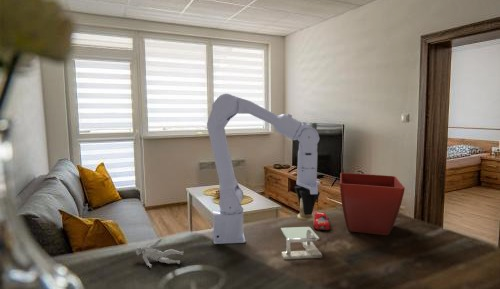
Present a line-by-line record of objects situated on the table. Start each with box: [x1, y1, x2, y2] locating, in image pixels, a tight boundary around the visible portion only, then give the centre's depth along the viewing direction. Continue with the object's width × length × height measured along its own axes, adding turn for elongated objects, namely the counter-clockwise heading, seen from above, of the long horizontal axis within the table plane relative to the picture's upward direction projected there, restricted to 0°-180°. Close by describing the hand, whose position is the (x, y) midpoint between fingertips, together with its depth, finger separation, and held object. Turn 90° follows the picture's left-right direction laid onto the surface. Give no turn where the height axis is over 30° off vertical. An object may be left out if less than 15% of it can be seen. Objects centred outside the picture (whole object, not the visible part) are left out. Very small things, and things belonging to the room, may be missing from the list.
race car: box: [312, 211, 330, 231], centre depth 111 cm, size 13×5×4 cm, turn 172°
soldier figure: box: [135, 237, 184, 269], centre depth 82 cm, size 8×5×12 cm
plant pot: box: [339, 172, 406, 236], centre depth 108 cm, size 19×19×17 cm
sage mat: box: [280, 226, 320, 241], centre depth 102 cm, size 10×10×1 cm
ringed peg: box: [297, 198, 314, 222], centre depth 95 cm, size 5×5×6 cm
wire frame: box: [281, 230, 323, 260], centre depth 89 cm, size 10×9×5 cm
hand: (305, 212), depth 95 cm, fingers closed on ringed peg, 4 cm apart
